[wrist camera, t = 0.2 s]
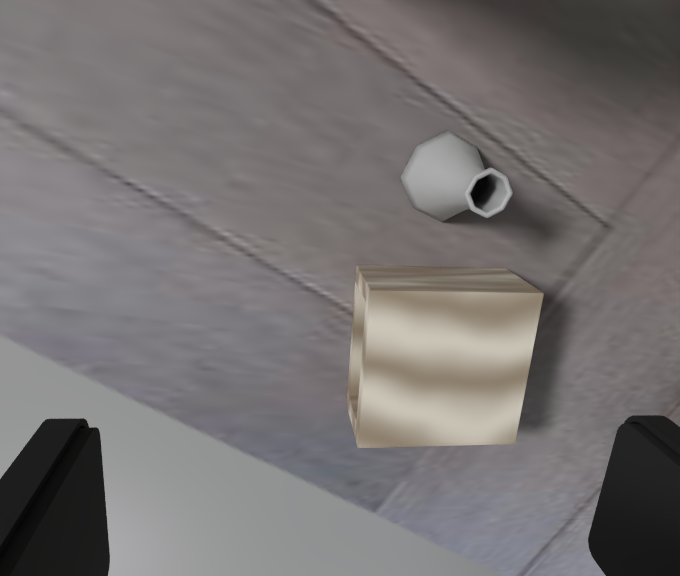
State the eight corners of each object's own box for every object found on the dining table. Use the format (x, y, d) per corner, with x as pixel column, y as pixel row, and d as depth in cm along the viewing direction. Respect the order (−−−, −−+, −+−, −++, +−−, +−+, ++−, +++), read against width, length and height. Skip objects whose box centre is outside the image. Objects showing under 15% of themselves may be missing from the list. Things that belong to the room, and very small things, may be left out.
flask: (500, 176, 45) (561, 192, 35) (439, 235, 46) (482, 266, 36) (447, 113, 43) (497, 113, 33) (384, 177, 44) (415, 194, 34)
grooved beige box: (356, 265, 46) (370, 290, 39) (506, 268, 48) (543, 293, 41) (346, 404, 50) (358, 447, 43) (484, 402, 52) (514, 443, 45)
